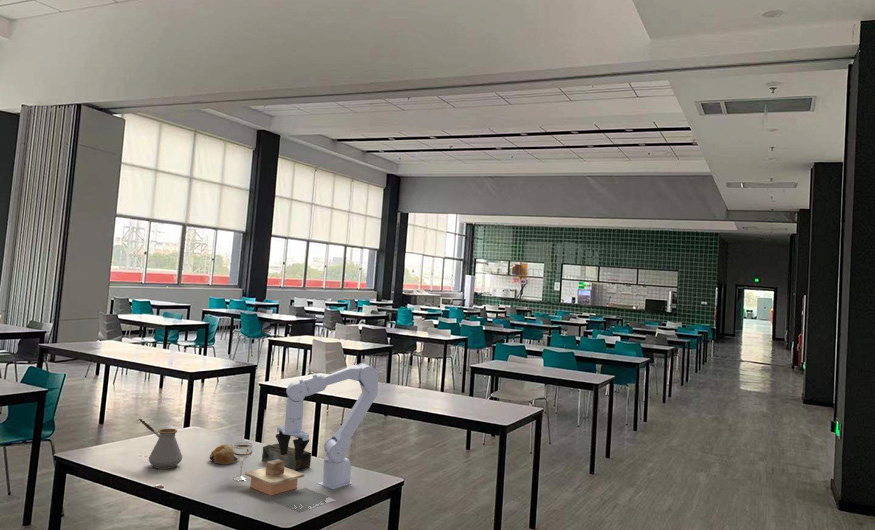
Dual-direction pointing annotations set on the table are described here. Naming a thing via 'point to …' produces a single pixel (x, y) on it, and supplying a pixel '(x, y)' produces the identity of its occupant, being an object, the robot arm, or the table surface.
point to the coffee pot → (164, 449)
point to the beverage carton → (286, 457)
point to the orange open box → (273, 486)
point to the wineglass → (242, 455)
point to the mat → (300, 499)
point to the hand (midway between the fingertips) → (290, 457)
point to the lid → (274, 473)
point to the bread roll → (223, 455)
